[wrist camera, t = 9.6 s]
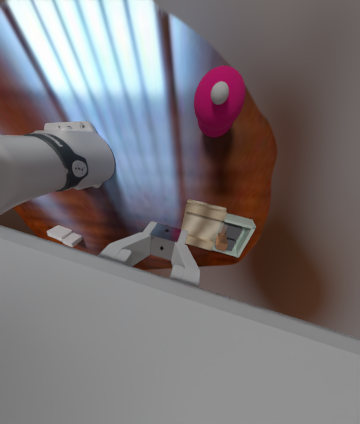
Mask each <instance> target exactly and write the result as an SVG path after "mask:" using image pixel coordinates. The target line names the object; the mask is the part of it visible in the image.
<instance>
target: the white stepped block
mask: <svg viewBox="0 0 360 424" xmlns="http://www.w3.org/2000/svg"><path fill="white" fill-rule="evenodd" d="M47 234H48V236H50V237H53V238H56V239H58V240H59V241H63V243H64V244H66V245H69V246H71V247H73V246H75V245H76V244H77V243H79V242H80V241H81V240H82V236H80V235H78V234H75V233H73V232H72V230H70V229H67V228H65V227H62V226H60V225H58V226H56V227H54V228H52V229H50V230H48V231H47Z"/></svg>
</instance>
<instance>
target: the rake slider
mask: <svg viewBox="0 0 360 424" xmlns="http://www.w3.org/2000/svg"><path fill="white" fill-rule="evenodd" d="M227 227H228V222H224V221H222V224H221V226H220V229H219V231H218V233H217V236H216V238H215V241H214V247H216V249H218V250H222V251H225V250H226V248H227V246H228V242H227V236H226V235H225V232H226V230H227Z"/></svg>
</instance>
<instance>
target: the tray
mask: <svg viewBox="0 0 360 424" xmlns="http://www.w3.org/2000/svg"><path fill="white" fill-rule="evenodd" d="M224 222H228V223H231V224H235V225H239V226H242V228H243V230H242V232H241V234H240V236H239V238H238V240H236V244H235V245H234V247H233V249H232V251H229V250H225V251H222V250H218V249H216V247H214V246H213V250H214V251H217V252H221V253H225V254H228V255H232V256H235V257H239V256H240V254H241V252H242V251H243V249H244V247H245V246H246V244H247V242H248V240H249V239H250V237H251V235H252V233H253V232H254V230H255V228H256V226H255V224H254V222H253V220H252V219H248V218H244V217H240V216H236V215H232V214H228V213H227V214H226V217H225V219H224ZM221 224H222V222H221ZM221 224H220V226H221ZM219 229H220V227H219ZM219 229H218V231H219ZM217 233H218V232H217ZM216 236H217V234H216ZM215 238H216V237H215ZM214 241H215V239H214Z"/></svg>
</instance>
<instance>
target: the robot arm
mask: <svg viewBox="0 0 360 424" xmlns="http://www.w3.org/2000/svg"><path fill="white" fill-rule="evenodd" d="M84 126H85V128H84ZM114 169H115V161H114V157H113V154H112V151H111V149H110V147H109V146H108V144H107V143H106V142H105V140H104V139H103V138H102V137H101V136H100V135H99V134H98V133H97V132H96V130H95V128H94V126H93V125H92V124H91V123H90V122H89V121H79V122H61V123H46V124H45V127H44V131H35V132H34V133H30V134H26V135H23V136H17V135H0V215H1V214H3V213H4V212H6V211H8V210H9V209H11V208H13V207H15V206H17V205H19V204H21V203H23V202H26V201H29V200H31V199H34V198H37V197H39V196H42V195H45V194H48V193H51V192H54V191H56V192H59V191H65V190H68V189H71V188H75V189H76V190H79V189H83V188H87V187H91V186H92V187H95V188H99V187H101V185H102V183H103V182H105V181H107V180H108V179H110V178H111V176H112V175H113V173H114ZM187 235H188V231H186V230H181V229H178V228H174V227H170V226H167V225H164V224H160V223H157V222H153V221H151V222H150V223H149V225H148V226H147V227H146V229H145V230H144V231H143V232H142V233H141V232H140V233H137V234H135V235H132V236H129V237H126V238H124V239H121V240H118V241H116V242H113V243H110V244H109V245H108V246H107V247H106V248H105V249H104V250H103V251H102V252H101V253H100V254H99V255H98V256H96V255H93V254H90V253H87V252H83V251H80V250H77V249H74V248H71V247H68V246H64V245H61V244H58V243H55V242H52V241H48V240H45V239H42V238H39V237H36V236H33V235H29V234H26V233H23V232H20V231H17V230H13V229H10V228H7V227H4V226H1V225H0V424H360V338H357V337H353V336H350V335H347V334H343V333H341V332H337V331H334V330H331V329H328V328H325V327H322V326H318V325H315V324H312V323H309V322H306V321H303V320H299V319H296V318H293V317H290V316H287V315H284V314H280V313H277V312H274V311H271V310H268V309H264V308H261V307H258V306H254V305H251V304H249V303H245V302H242V301H239V300H236V299H233V298H230V297H226V296H223V295H220V294H217V293H213V292H210V291H207V290H204V289H201V288H199V278H200V270H199V268H198V266H197V264H196V262H195V260H194V258H193V257H192V255H191V253H190V251H189V249H188V247H187V245H185V242H186V239H187ZM150 254H151V255H155V256H158V257H162V258H165V259H168V260H171V262H172V266H173V269H172V273H171V275H170V279H169V278H166V277H163V276H160V275H156V274H153V273H150V272H147V271H144V270H141V269H137V268H134V267H132V266H133V265H135V264H136V263H138V262H139V261H141V260H143V259H144V258H146V257H147V256H149V255H150Z"/></svg>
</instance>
